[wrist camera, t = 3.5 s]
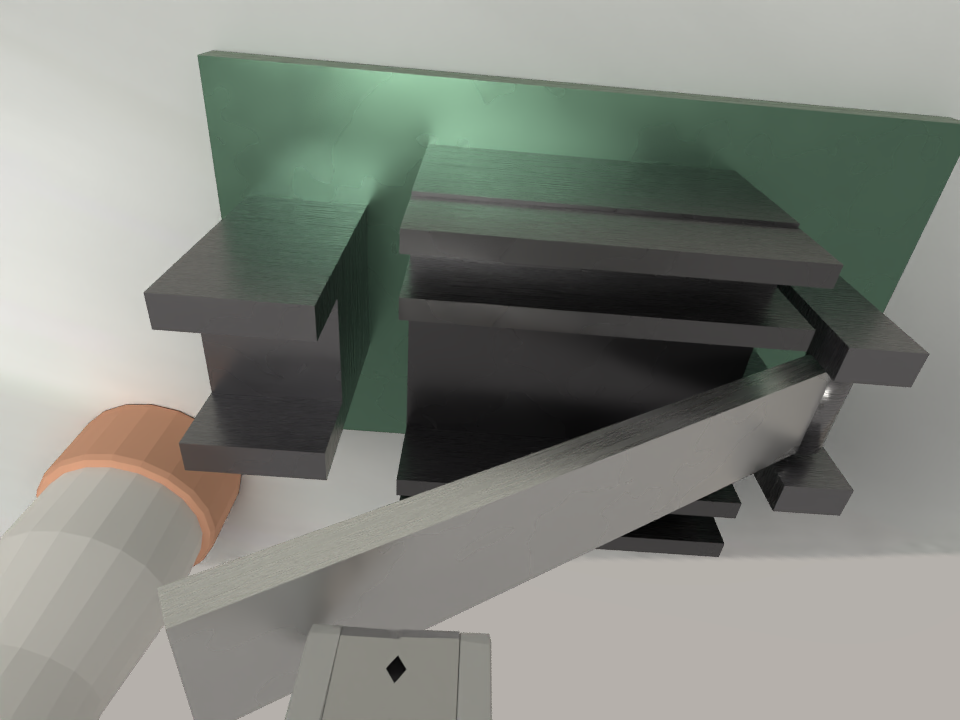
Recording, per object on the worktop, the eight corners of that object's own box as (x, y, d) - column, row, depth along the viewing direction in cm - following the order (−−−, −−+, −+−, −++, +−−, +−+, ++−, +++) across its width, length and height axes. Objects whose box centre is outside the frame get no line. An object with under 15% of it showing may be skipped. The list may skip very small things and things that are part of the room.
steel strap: (825, 339, 18) (871, 363, 17) (790, 420, 20) (830, 446, 19) (154, 572, 10) (169, 646, 9) (187, 681, 11) (202, 753, 10)
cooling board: (950, 117, 20) (1207, 199, 13) (798, 444, 28) (908, 613, 20) (213, 50, 20) (48, 98, 12) (260, 405, 27) (176, 566, 20)
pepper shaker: (72, 490, 30) (-423, 1105, 14) (93, 379, 26) (-538, 1030, 10) (220, 538, 32) (-64, 1136, 15) (259, 439, 28) (-56, 1081, 12)
